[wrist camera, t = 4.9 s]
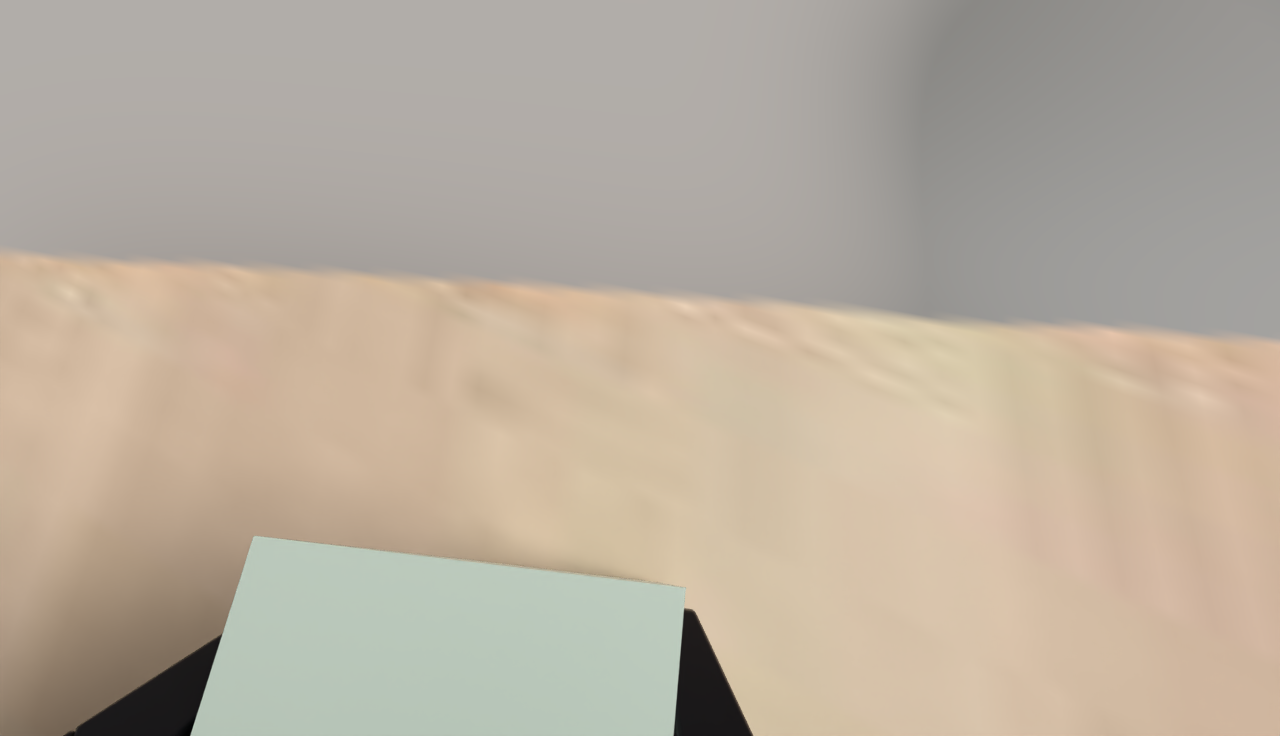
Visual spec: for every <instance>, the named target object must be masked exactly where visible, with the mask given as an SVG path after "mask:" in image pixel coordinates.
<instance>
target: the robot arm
mask: <svg viewBox="0 0 1280 736" xmlns="http://www.w3.org/2000/svg"><path fill="white" fill-rule="evenodd" d="M221 638H222V634H221V635H220V636H218V637H216V638H215V639H213V640H212V641H210V642H209V643H207V644H206V645H204V646H202V647H201V648H199V649H198V650H196V651H195V652H193V653H191V654H190V655H188V656H187V657H185V658H184V659H182V660H181V661H179V662H177V663H176V664H174V665H173V666H171V667H170V668H168V669H166V670H165V671H163V672H162V673H160V674H159V675H157V676H156V677H154V678H152V679H151V680H149V681H148V682H146V683H145V684H143V685H141V686H140V687H138V688H137V689H135V690H134V691H132V692H131V693H129V694H127V695H126V696H124V697H123V698H121V699H120V700H118V701H116V702H115V703H113V704H112V705H110V706H109V707H107V708H106V709H104V710H102V711H101V712H99V713H98V714H96V715H95V716H93V717H91V718H90V719H88V720H87V721H85V722H84V723H82V724H80V725H79V726H78V727H77V728H76V730H75V731H69V732H68V733H66V734H65V735H63V736H190V735H191V732H192V729H193V726H194V723H195V720H196V716H197V713H198V710H199V707H200V704H201V701H202V697H203V694H204V691H205V688H206V685H207V682H208V679H209V675H210V672H211V669H212V666H213V663H214V660H215V656H216V653H217V650H218V647H219V644H220V641H221ZM673 736H753V734H752V732H751V730H750V728H749V725H748V723H747V721H746V719H745V717H744V715H743V713H742V710H741V708H740V706H739V704H738V702H737V700H736V698H735V696H734V693H733V691H732V689H731V687H730V685H729V683H728V681H727V678H726V676H725V674H724V672H723V670H722V668H721V666H720V663H719V661H718V659H717V657H716V655H715V653H714V651H713V649H712V646H711V644H710V642H709V640H708V638H707V636H706V634H705V631H704V629H703V627H702V625H701V623H700V621H699V619H698V616H697V615H696V613H695V611H693V610H692V609H686V608H684V614H683V627H682V639H681V651H680V663H679V675H678V687H677V699H676V711H675V723H674V735H673Z"/></svg>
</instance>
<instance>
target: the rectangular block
mask: <svg viewBox="0 0 1280 736" xmlns="http://www.w3.org/2000/svg"><path fill="white" fill-rule="evenodd" d="M685 590H686V588H684V587H679V586H674V585H669V584H663V583H658V582H651V581H642V580H634V579H626V578H618V577H609V576H601V575H593V574H584V573H576V572H568V571H559V570H551V569H543V568H535V567H526V566H518V565H510V564H501V563H493V562H485V561H476V560H468V559H459V558H450V557H441V556H432V555H423V554H414V553H405V552H396V551H387V550H378V549H369V548H360V547H351V546H342V545H333V544H324V543H315V542H306V541H297V540H288V539H279V538H270V537H261V536H254V537H253V540H252V543H251V546H250V549H249V552H248V556H247V559H246V562H245V565H244V568H243V571H242V574H241V578H240V581H239V584H238V587H237V590H236V593H235V597H234V600H233V603H232V606H231V609H230V612H229V615H228V619H227V622H226V625H225V628H224V631H223V634H222V638H221V641H220V644H219V647H218V650H217V653H216V656H215V660H214V663H213V666H212V669H211V672H210V675H209V679H208V682H207V685H206V688H205V691H204V694H203V697H202V701H201V704H200V707H199V710H198V713H197V716H196V720H195V723H194V726H193V729H192V732H191V735H190V736H673V735H674V723H675V711H676V699H677V687H678V675H679V663H680V651H681V639H682V627H683V614H684V602H685Z"/></svg>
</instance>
